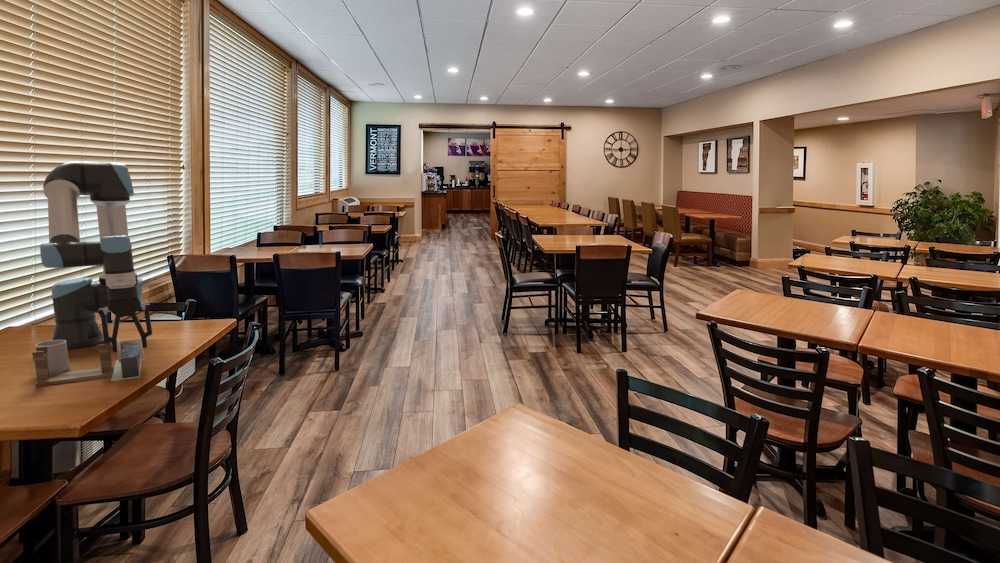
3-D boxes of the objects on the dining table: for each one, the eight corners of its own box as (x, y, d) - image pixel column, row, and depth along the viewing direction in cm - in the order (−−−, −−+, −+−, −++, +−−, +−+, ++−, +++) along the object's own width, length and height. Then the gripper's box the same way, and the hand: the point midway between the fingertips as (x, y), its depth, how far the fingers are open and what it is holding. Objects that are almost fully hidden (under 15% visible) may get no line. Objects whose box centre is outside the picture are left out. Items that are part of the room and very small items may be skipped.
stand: (40, 378, 161) (36, 346, 160) (113, 369, 170) (110, 338, 169) (35, 386, 155) (31, 353, 153) (111, 376, 164) (108, 344, 162)
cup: (44, 376, 163) (40, 347, 162) (32, 370, 169) (28, 342, 167) (73, 370, 169) (70, 342, 168) (61, 364, 175) (57, 337, 173)
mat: (116, 361, 178) (116, 360, 178) (141, 358, 182) (141, 357, 182) (111, 381, 160) (110, 380, 160) (139, 377, 163) (139, 376, 163)
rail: (122, 378, 161) (120, 358, 160) (125, 360, 178) (123, 342, 177) (138, 376, 163) (136, 356, 162) (140, 358, 180) (138, 341, 179)
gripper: (83, 291, 159) (95, 368, 162) (156, 284, 168) (166, 357, 172) (86, 288, 165) (97, 362, 169) (156, 281, 174) (165, 352, 178)
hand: (131, 360), depth 170 cm, fingers open, 5 cm apart
